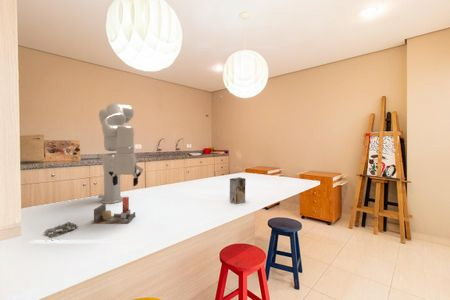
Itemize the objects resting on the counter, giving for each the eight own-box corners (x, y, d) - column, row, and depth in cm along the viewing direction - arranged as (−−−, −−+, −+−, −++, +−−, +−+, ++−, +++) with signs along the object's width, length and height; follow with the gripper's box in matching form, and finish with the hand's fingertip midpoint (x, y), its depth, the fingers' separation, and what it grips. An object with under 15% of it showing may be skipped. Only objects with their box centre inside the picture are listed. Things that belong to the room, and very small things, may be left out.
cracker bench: (91, 226, 101) (91, 210, 100) (102, 218, 111) (102, 203, 110) (128, 226, 101) (127, 210, 101) (136, 218, 111) (135, 203, 111)
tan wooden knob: (100, 221, 104) (100, 213, 103) (104, 218, 108) (104, 210, 107) (108, 221, 104) (108, 213, 104) (112, 218, 108) (112, 210, 108)
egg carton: (52, 242, 86) (52, 232, 86) (42, 238, 89) (42, 229, 89) (79, 231, 96) (79, 223, 96) (69, 228, 99) (69, 219, 99)
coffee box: (238, 199, 150) (239, 177, 149) (245, 201, 145) (245, 178, 144) (229, 201, 144) (229, 178, 143) (235, 204, 139) (236, 180, 138)
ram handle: (120, 221, 103) (120, 199, 103) (125, 217, 109) (125, 196, 108) (126, 221, 104) (126, 199, 103) (130, 217, 109) (130, 196, 108)
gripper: (103, 151, 100) (103, 186, 102) (140, 152, 101) (140, 187, 102) (111, 149, 107) (111, 182, 109) (145, 150, 108) (145, 183, 110)
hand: (125, 185), depth 106 cm, fingers open, 9 cm apart
